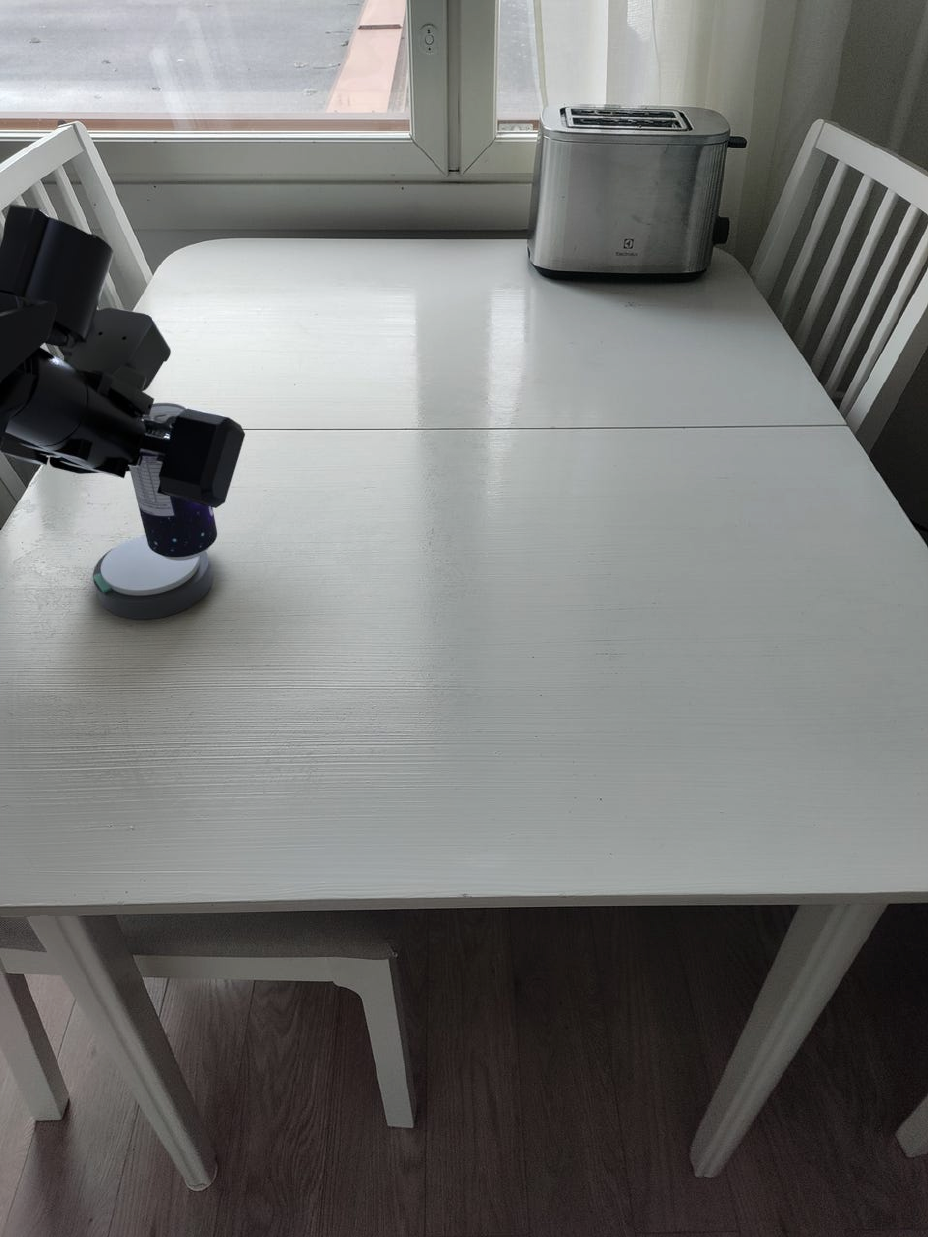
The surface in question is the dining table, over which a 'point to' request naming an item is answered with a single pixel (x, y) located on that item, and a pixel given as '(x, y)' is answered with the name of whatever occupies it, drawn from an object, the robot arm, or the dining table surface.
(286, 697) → the dining table surface
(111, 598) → the kitchen scale
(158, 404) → the beverage can
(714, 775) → the dining table surface
